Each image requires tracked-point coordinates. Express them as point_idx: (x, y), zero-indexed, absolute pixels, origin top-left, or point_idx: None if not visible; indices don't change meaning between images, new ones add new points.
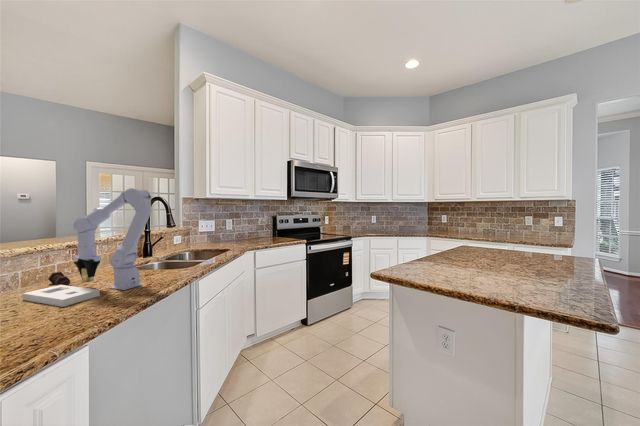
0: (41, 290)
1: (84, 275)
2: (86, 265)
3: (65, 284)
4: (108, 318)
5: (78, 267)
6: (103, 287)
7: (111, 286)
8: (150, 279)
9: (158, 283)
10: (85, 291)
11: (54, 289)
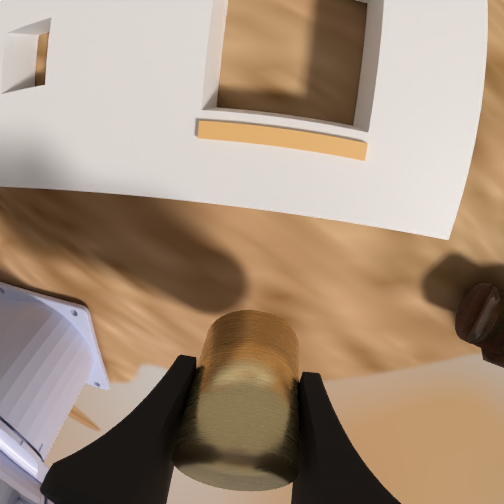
0: (435, 34)
1: (221, 368)
2: (102, 464)
3: (469, 303)
4: None
5: (337, 465)
6: (152, 324)
7: (87, 323)
8: (94, 425)
9: None
10: None
11: (368, 100)
